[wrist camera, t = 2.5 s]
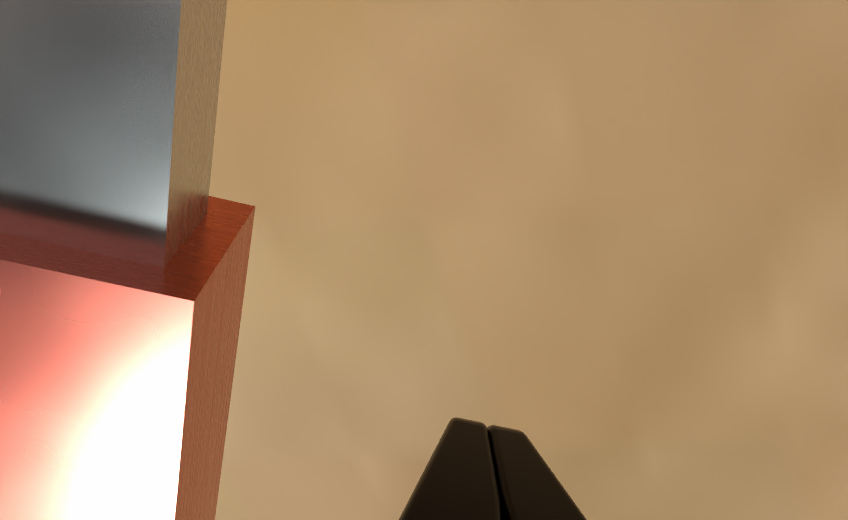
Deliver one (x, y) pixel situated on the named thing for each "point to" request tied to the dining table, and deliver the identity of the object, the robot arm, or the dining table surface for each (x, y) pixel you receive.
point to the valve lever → (114, 261)
